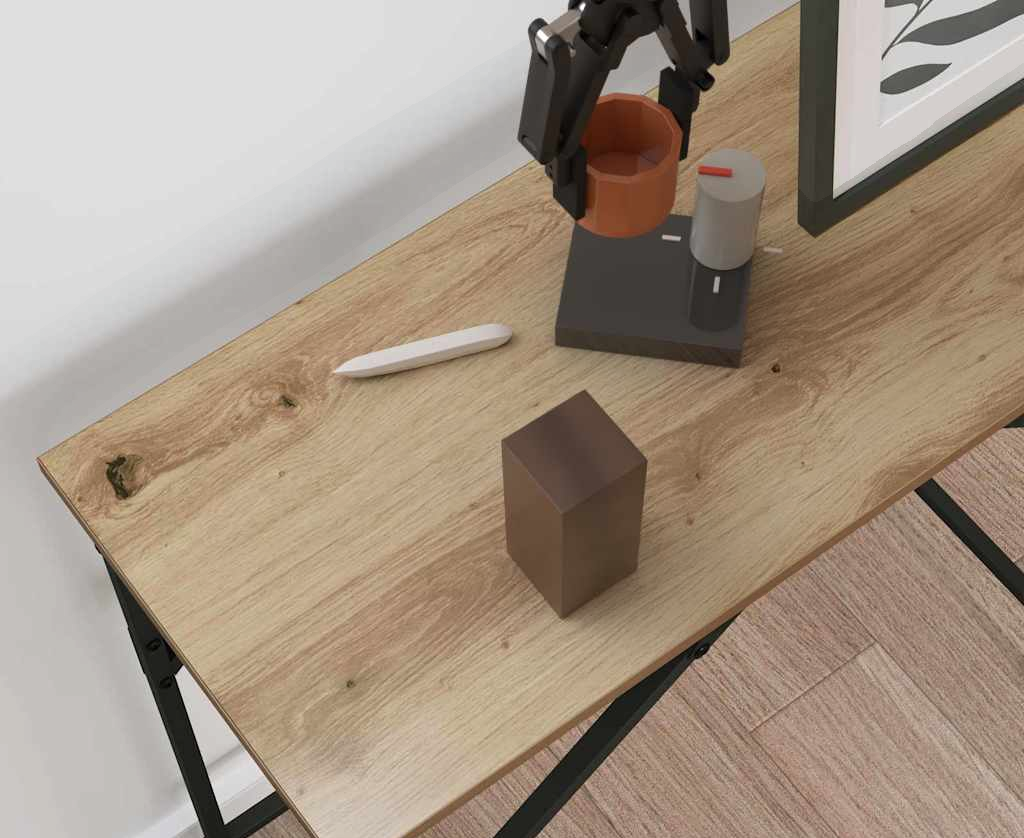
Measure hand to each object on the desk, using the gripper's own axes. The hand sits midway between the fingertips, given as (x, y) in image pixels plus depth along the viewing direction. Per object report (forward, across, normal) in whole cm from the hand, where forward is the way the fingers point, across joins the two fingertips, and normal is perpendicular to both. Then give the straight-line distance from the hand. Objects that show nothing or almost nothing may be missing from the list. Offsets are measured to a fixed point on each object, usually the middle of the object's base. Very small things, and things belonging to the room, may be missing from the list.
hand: (620, 176), depth 111 cm
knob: (+13, -9, +1) cm, 16 cm away
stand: (+15, +16, +16) cm, 27 cm away
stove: (+15, -5, +1) cm, 16 cm away
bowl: (+2, 0, 0) cm, 2 cm away
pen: (+16, +14, -5) cm, 22 cm away
